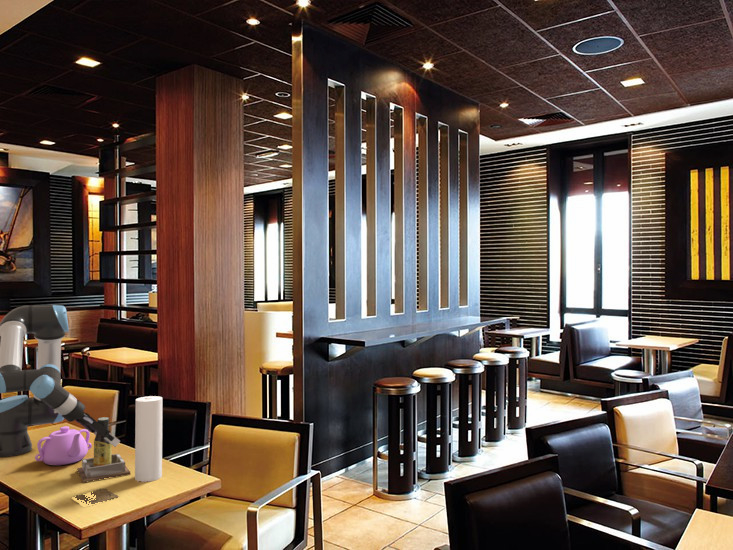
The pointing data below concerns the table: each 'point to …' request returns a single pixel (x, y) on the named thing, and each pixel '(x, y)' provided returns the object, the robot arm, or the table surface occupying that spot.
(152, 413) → the cylinder container
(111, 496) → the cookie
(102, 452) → the sauce bottle
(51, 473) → the table surface
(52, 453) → the teapot
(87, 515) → the table surface
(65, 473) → the table surface
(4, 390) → the robot arm
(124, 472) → the grey square tray
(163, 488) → the table surface
